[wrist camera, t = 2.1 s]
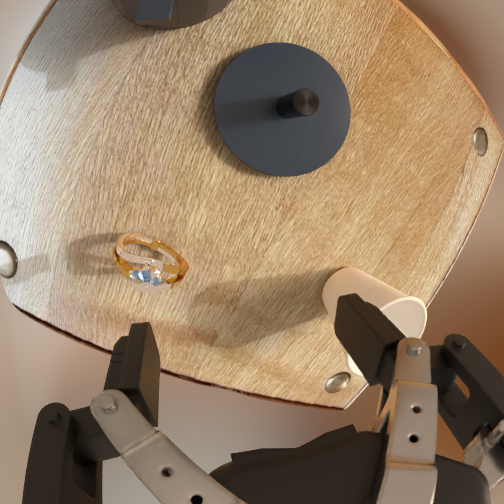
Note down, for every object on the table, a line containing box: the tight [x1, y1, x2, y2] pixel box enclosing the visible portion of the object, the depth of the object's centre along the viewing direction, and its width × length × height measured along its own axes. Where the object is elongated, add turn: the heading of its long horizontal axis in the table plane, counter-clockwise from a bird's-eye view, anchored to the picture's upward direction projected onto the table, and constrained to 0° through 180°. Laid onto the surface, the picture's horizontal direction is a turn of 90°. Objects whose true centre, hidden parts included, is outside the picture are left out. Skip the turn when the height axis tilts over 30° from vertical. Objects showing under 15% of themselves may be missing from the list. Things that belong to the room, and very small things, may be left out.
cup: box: [322, 267, 427, 377], centre depth 30 cm, size 10×10×11 cm
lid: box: [214, 43, 351, 177], centre depth 23 cm, size 14×14×6 cm
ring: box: [113, 233, 189, 292], centre depth 25 cm, size 7×3×8 cm, turn 57°
